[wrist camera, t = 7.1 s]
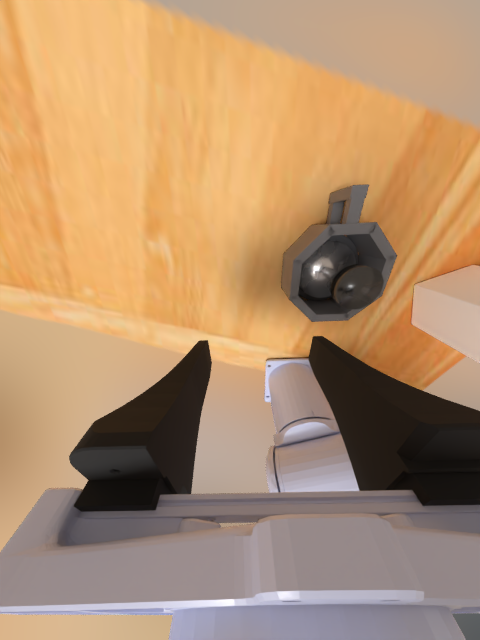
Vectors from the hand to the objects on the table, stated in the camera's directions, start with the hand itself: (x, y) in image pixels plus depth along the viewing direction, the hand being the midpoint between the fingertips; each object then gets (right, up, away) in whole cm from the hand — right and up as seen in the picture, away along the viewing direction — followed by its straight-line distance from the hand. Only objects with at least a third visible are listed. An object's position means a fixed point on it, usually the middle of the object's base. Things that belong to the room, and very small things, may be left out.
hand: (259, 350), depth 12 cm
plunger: (+8, +8, +7) cm, 13 cm away
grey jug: (+8, +9, +7) cm, 14 cm away
